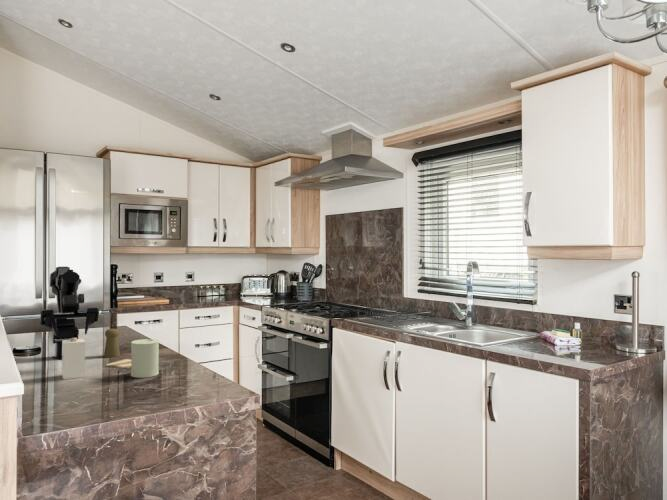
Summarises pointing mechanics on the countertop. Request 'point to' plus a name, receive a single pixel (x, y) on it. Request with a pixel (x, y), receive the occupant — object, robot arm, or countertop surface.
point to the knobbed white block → (73, 358)
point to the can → (144, 358)
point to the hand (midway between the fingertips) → (71, 334)
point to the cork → (112, 343)
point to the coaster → (121, 363)
